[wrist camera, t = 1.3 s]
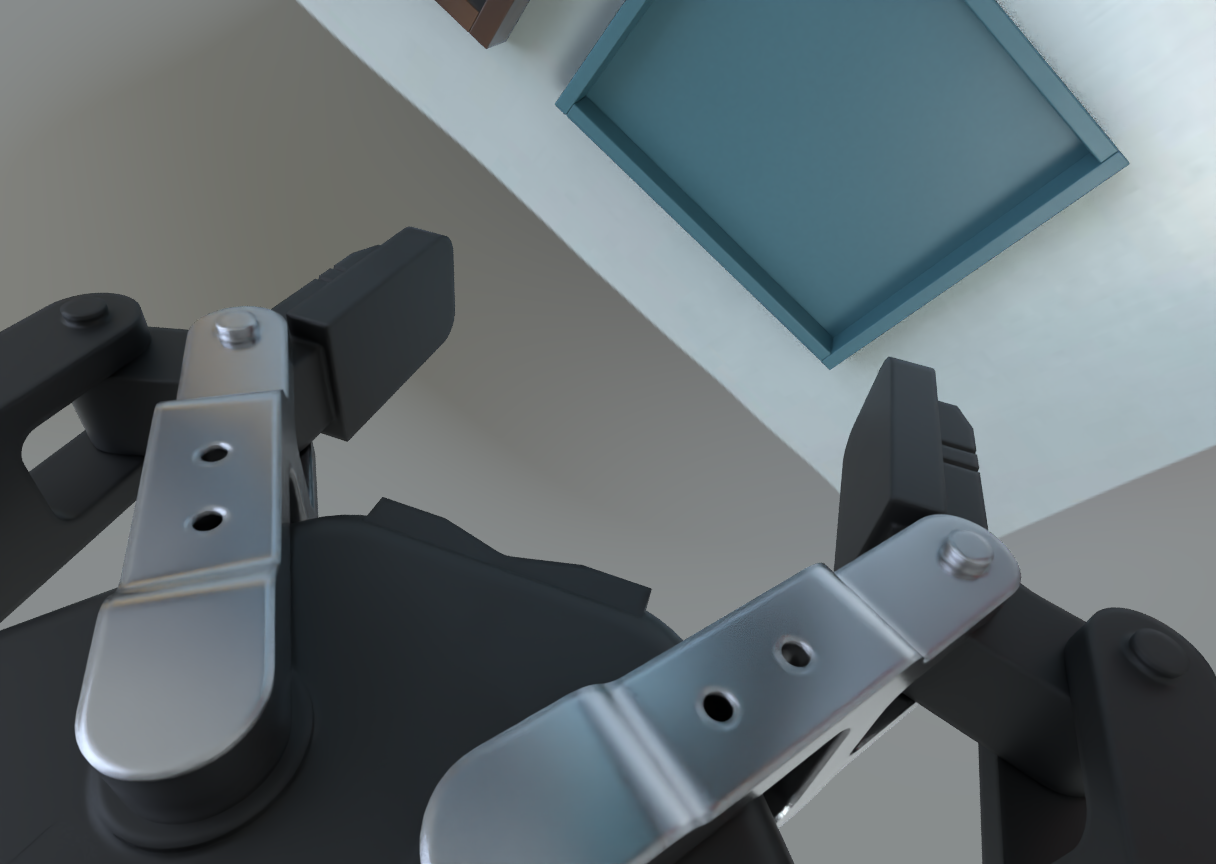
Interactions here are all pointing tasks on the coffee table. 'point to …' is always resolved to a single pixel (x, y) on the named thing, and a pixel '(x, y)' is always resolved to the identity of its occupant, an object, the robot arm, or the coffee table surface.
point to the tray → (839, 145)
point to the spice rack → (486, 17)
